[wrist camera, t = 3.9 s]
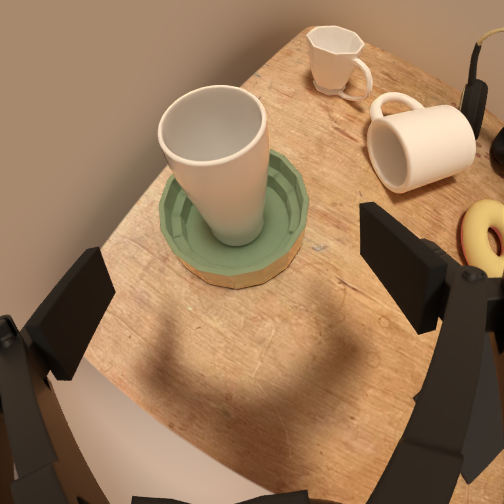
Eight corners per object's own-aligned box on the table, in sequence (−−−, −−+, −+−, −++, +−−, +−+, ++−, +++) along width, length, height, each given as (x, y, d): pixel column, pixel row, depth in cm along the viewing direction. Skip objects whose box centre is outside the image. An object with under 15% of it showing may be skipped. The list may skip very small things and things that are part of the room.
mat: (467, 483, 21) (469, 484, 21) (412, 398, 26) (414, 398, 25) (542, 395, 23) (544, 395, 23) (497, 308, 27) (499, 308, 27)
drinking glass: (245, 181, 34) (227, 70, 19) (286, 229, 32) (292, 125, 17) (191, 217, 33) (138, 119, 18) (228, 269, 31) (189, 188, 16)
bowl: (216, 315, 30) (205, 306, 25) (154, 212, 34) (137, 189, 29) (329, 239, 31) (338, 218, 27) (255, 151, 35) (253, 121, 31)
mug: (456, 183, 33) (487, 146, 25) (394, 207, 32) (421, 166, 24) (406, 110, 36) (423, 67, 29) (343, 124, 36) (354, 76, 28)
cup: (330, 64, 40) (336, 20, 32) (381, 105, 37) (395, 59, 29) (292, 80, 39) (293, 33, 31) (343, 124, 36) (355, 76, 28)
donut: (446, 277, 31) (510, 297, 28) (460, 270, 27) (529, 292, 24) (458, 196, 33) (519, 218, 30) (471, 181, 28) (536, 206, 25)
